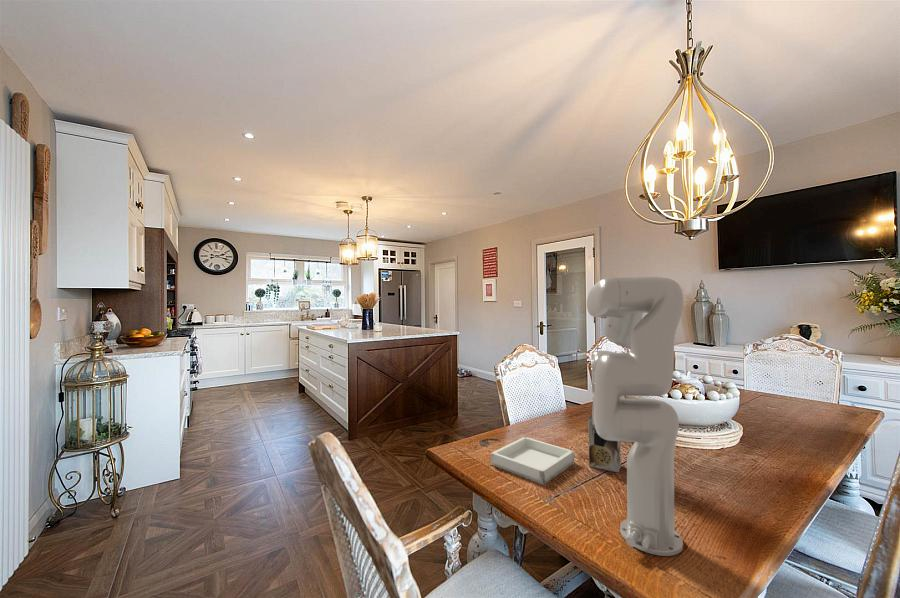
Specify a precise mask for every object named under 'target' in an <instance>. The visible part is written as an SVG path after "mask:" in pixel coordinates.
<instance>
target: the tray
mask: <svg viewBox="0 0 900 598" xmlns="http://www.w3.org/2000/svg"><path fill="white" fill-rule="evenodd" d="M574 464H575V451H574V450H572V449H568V448H565V447H562V446H557V445H554V444H551V443H548V442H543V441H541V440H538V439H535V438H530V437H528V436H523V437H521V438H519V439H517V440H515V441H513V442H511V443H508V444H507V445H504V446H503V447H501V448H499V449H496V450H494V451H493V452H490V466H492V465H493V466H492V467H495V466H496V467H495V468H497V467H498V468H497V469H500V470H502V469H503V470H502V471H505V470H506V472H508V471H509V472H508V473H510V472H511V473H510V474H513V473H514V474H513V475H515V474H516V475H515V476H517V477H521V478H523V477H524V479H526V480H528V479H529V481H531V482H534V483H537V484H538V485H542V486H544V485H545V484H547V483H548V482H550V481H551V480H552V479H554V478H556V477H557V476H559V474H561V473H563V472H564V471H565V470H567V469H568V468H569V467H571V466H572V465H574Z"/></svg>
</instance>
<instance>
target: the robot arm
mask: <svg viewBox="0 0 900 598" xmlns="http://www.w3.org/2000/svg"><path fill="white" fill-rule="evenodd" d="M682 290H683V289H682V288H681V285H680V284H679V283H678V282H677V281H676V280H674V279H671V278H668V277H662V276H631V277H628V276H627V277H626V276H625V277H621V276H620V277H605V278H603V279H600V280H599V281H598V282H596V283H595V284H594V285H593V286H592V287H591V289H590V290H589V292H588V294H587V299H586V308H587V309H586V310H587V312H588V313H589V315H590V316H591V317H594V318H605V322H604V327H603V334H604V335H605V337H606V338H607V339H608V340H609V341H610V342H612V343H614V344H616V345H618V346H621V347H623V348H626V349H627V350H629V351H628V352H626V353H625V352H613V351H610V350H595V351H593V352H592V353H591V360H590V361H591V362H590V363H591V364H590V367H591V393H592V394H593V396H592V413H591V414H592V418H593V422H592V426H593V430H594V431H593V432H594V444H595V445H597V446H601V447H604V446H605V440H609V441H620V442H625V443H626V442H628V443H630V442H633V443H632V446H631V447H630V449H629V450H628V452H627V456H626V496H627V497H626V505H627V508H626V510H627V511H626V515H627V516H626V517H627V518H626V519H624V520H622V521H621V523H620V525H619V527H620V528H619V532H620V535H621V536H622V538H623V539H624V540H625V543H626V544H627V545H628V546H629V547H631V548H636V549H637V550H640V551H642V552H644V553H647V554H650V555H655V556H661V557H672V556H675V555H679V554H680V553H681V552H682V551H683V549H684V542H683V539H682V536H681V535H680V534H679V532H677V531H676V530H675V450H676V443H677V438H678V433H679V427H680V426H679V424H680V422H679V416H678V414H677V410H675V408H674V407H673V406H672V405H671V404H669V403H667V402H666V401H663V400H661V399H660V400H658V399H655V398H621V397H623V396H630V397H636V396H637V397H660V396H664V395H667V394H668V393H669V392H670V390H672V389H671V388H672V386H673V379H674V378H673V377H674V357H675V356H674V355H675V337H676V334H677V330H678V326H679V323H680V321H681V317H682V315H683V312H684V310H683V309H684V305H685V304H684V303H685V302H684V294H683V291H682ZM644 313H646V314H645V315H644ZM634 442H635V443H634Z"/></svg>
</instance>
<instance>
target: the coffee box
mask: <svg viewBox="0 0 900 598" xmlns="http://www.w3.org/2000/svg"><path fill="white" fill-rule="evenodd" d="M587 420H588V421H587V426H588V427H587V429H588V467H590V468H594V469H595V468H596V469H598V470H599V469H600V470H604V471H610V472H614V473H619V472H620V470H621V467H622V463H621V462H622V461H621V460H622V459H621V458H622V457H621V441H609V440H605V446H604V447H601V446H597V445H595V444H594V432H593V431H594V430H593V426H592V422H593V418H592V413H591V414H590V415H589V417H588V418H587Z"/></svg>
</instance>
